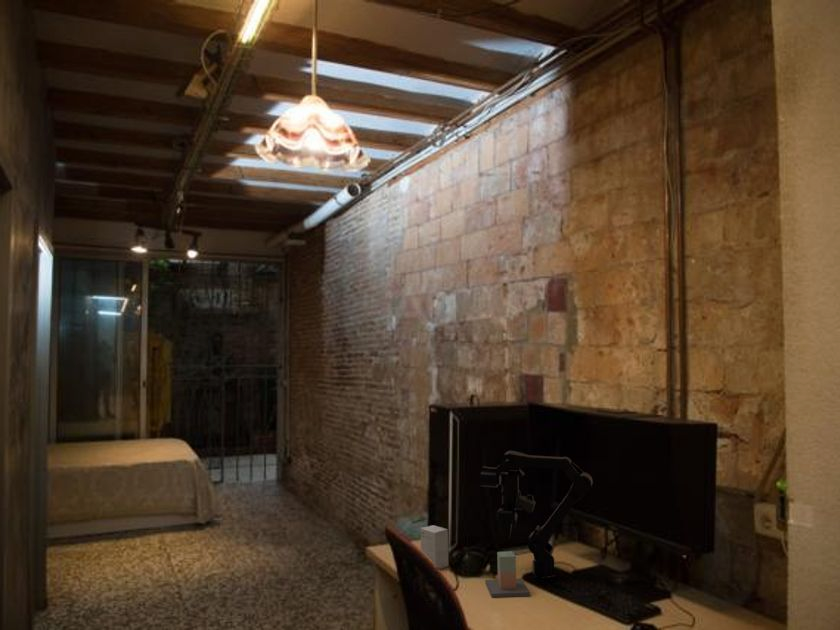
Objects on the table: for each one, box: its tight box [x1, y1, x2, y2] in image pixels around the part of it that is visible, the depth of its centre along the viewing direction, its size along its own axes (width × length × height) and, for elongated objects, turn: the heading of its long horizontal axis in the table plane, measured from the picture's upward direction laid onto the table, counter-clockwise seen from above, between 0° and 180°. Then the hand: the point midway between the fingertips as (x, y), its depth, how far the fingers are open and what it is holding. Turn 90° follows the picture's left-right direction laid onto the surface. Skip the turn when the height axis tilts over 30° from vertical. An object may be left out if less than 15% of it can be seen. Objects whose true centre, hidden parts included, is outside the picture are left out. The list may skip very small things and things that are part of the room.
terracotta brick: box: [497, 568, 517, 589], centre depth 207 cm, size 5×5×5 cm
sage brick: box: [496, 550, 517, 573], centre depth 207 cm, size 5×5×5 cm
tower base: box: [484, 577, 531, 599], centre depth 207 cm, size 12×12×1 cm
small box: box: [420, 524, 449, 570], centre depth 231 cm, size 8×6×13 cm
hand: (510, 534), depth 223 cm, fingers open, 9 cm apart
